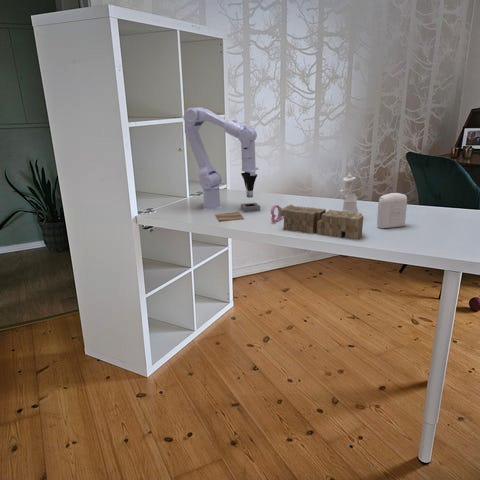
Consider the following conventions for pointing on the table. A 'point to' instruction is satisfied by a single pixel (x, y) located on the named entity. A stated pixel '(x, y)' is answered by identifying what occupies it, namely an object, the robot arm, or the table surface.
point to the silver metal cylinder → (249, 193)
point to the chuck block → (250, 207)
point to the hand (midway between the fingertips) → (249, 189)
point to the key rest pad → (229, 216)
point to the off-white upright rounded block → (392, 210)
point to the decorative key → (275, 215)
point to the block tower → (323, 221)
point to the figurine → (349, 196)
